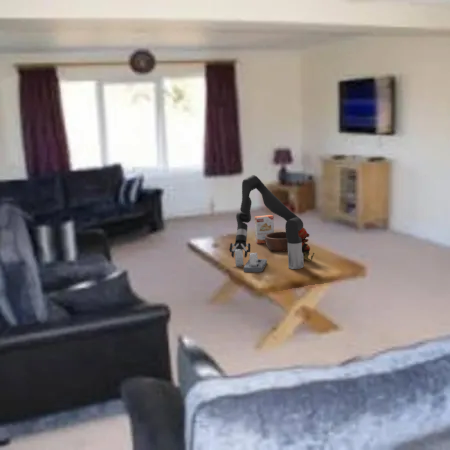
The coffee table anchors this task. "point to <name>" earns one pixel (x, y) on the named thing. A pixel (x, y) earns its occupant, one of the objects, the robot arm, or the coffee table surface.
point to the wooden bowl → (277, 241)
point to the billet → (239, 257)
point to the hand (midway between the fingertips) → (239, 257)
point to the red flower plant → (305, 247)
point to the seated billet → (253, 260)
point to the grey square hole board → (260, 267)
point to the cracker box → (263, 227)
